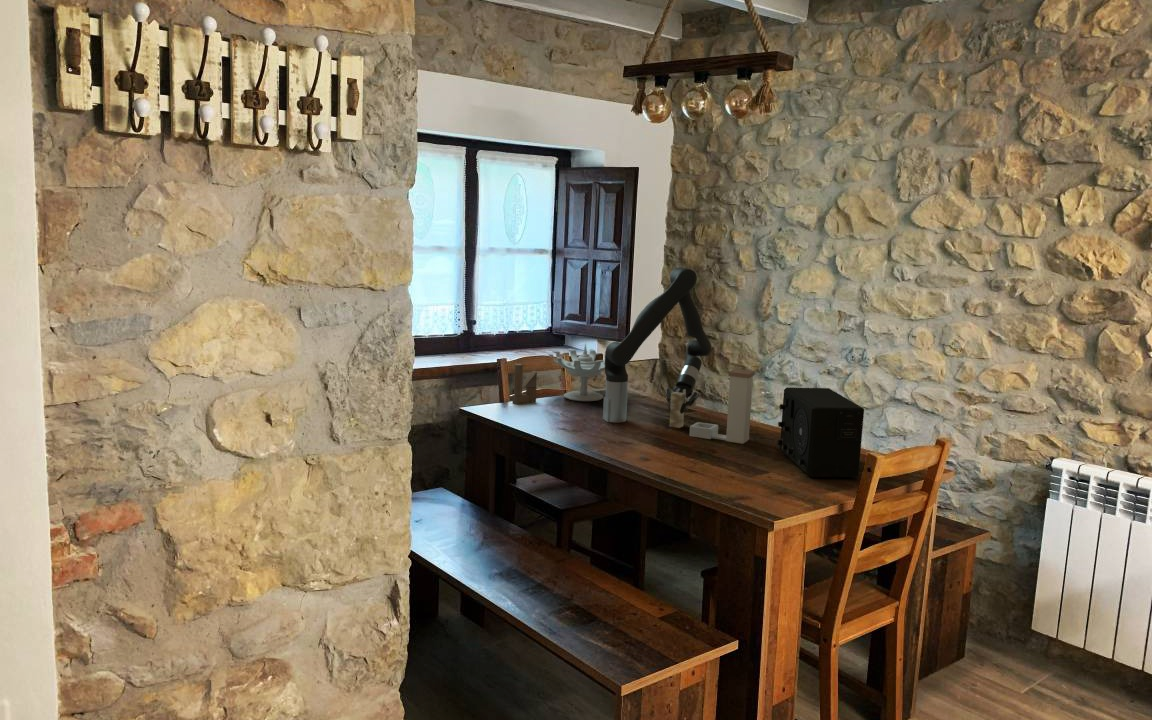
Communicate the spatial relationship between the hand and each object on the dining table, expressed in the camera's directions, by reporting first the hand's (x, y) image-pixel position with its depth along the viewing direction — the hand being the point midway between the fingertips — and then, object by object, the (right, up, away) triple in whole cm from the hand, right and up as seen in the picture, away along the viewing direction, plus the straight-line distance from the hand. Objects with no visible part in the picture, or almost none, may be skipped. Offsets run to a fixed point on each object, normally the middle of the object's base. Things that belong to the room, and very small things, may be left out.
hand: (675, 411), depth 367 cm
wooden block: (-65, +2, +39) cm, 75 cm away
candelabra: (-37, +3, +52) cm, 64 cm away
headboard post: (+16, -10, -14) cm, 23 cm away
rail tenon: (+1, -6, +3) cm, 7 cm away
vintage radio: (+44, -16, -48) cm, 67 cm away
